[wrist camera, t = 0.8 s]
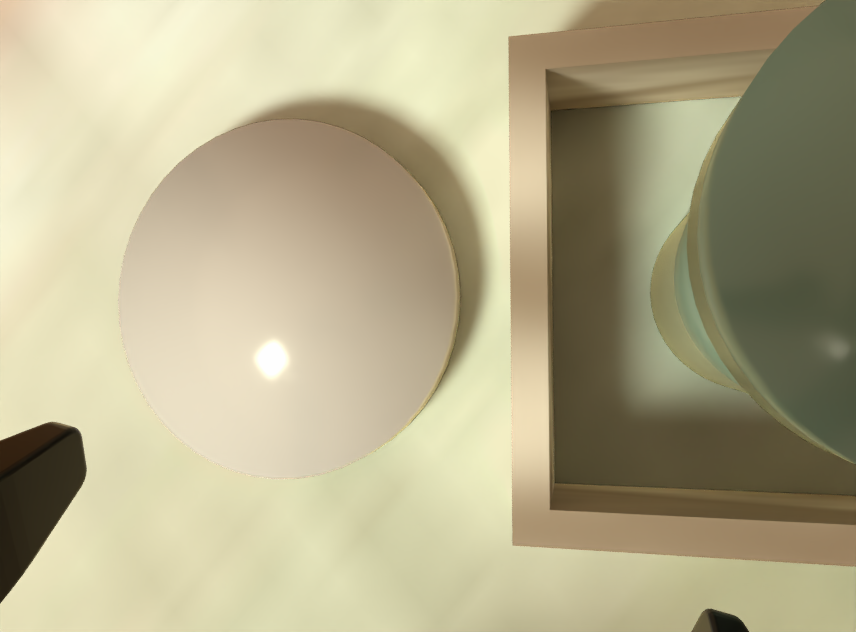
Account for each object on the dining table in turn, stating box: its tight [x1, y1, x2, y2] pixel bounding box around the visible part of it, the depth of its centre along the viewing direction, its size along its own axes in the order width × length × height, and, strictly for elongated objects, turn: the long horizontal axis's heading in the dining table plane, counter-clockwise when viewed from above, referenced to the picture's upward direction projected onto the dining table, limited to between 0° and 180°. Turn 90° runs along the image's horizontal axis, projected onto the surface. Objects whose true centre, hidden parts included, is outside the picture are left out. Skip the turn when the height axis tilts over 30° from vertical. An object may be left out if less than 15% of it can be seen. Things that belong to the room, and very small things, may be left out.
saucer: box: [118, 119, 460, 479], centre depth 23 cm, size 12×12×1 cm
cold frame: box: [509, 6, 856, 566], centre depth 19 cm, size 14×14×4 cm
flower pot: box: [650, 0, 856, 465], centre depth 14 cm, size 7×7×13 cm
